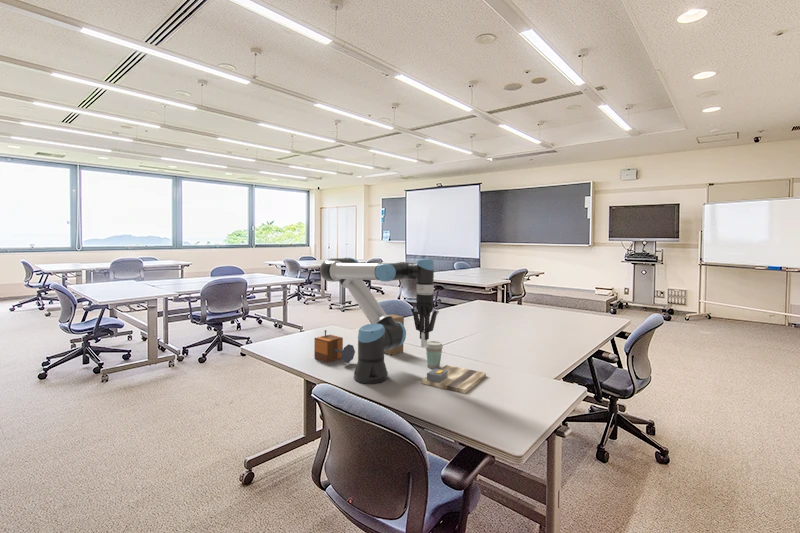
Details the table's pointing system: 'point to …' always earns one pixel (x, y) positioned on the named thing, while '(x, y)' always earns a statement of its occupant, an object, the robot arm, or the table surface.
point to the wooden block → (400, 348)
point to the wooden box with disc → (332, 349)
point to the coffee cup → (433, 354)
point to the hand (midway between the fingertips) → (424, 346)
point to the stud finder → (437, 375)
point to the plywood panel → (457, 379)
